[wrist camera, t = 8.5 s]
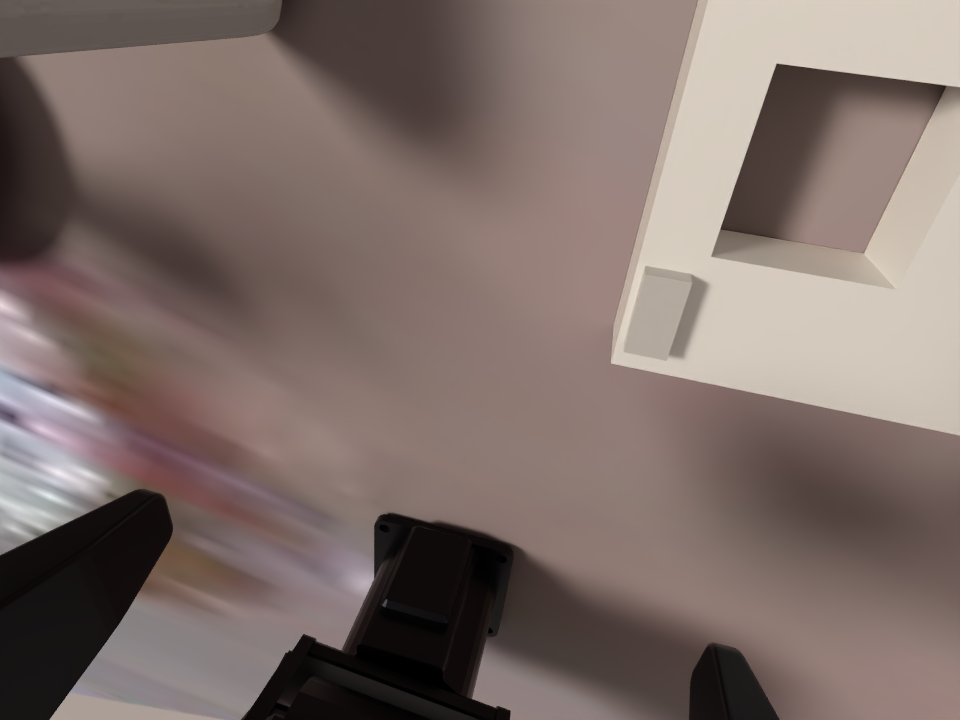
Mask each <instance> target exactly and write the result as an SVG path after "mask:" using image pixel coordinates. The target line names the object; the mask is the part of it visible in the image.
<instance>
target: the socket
mask: <svg viewBox="0 0 960 720" xmlns="http://www.w3.org/2000/svg"><path fill="white" fill-rule="evenodd" d="M776 64H784V65H792V66H800V67H808V68H815V69H823V70H831V71H839V72H846V73H854V74H862V75H870V76H877V77H885V78H893V79H901V80H908V81H916V82H924V83H931V84H939V85H947V86H946V88H945V90H944V92H943V94H942V96H941V98H940V100H939V102H938V104H937V106H936V108H935V110H934V112H933V114H932V116H931V118H930V120H929V122H928V125H927V127H926V129H925V131H924V133H923V135H922V137H921V139H920V141H919V143H918V145H917V147H916V149H915V151H914V153H913V155H912V157H911V159H910V161H909V163H908V165H907V167H906V169H905V171H904V173H903V175H902V177H901V179H900V181H899V183H898V185H897V187H896V189H895V191H894V193H893V195H892V198H891V200H890V202H889V204H888V206H887V208H886V210H885V212H884V214H883V216H882V218H881V220H880V222H879V224H878V226H877V228H876V230H875V232H874V234H873V236H872V238H871V240H870V242H869V244H868V246H867V248H866V250H865V252H864V254H863V253H857V252H851V251H845V250H839V249H833V248H828V247H822V246H816V245H810V244H804V243H798V242H792V241H786V240H780V239H775V238H769V237H763V236H757V235H751V234H745V233H739V232H733V231H727V230H722V229H720V228H721V225H722V222H723V219H724V217H725V214H726V211H727V208H728V205H729V202H730V199H731V196H732V193H733V190H734V187H735V184H736V181H737V178H738V175H739V172H740V169H741V167H742V164H743V161H744V158H745V155H746V152H747V149H748V146H749V143H750V140H751V137H752V134H753V131H754V128H755V125H756V122H757V119H758V117H759V114H760V111H761V108H762V105H763V102H764V99H765V96H766V93H767V90H768V87H769V84H770V81H771V78H772V75H773V72H774V69H775V67H776ZM611 363H612V364H617V365H622V366H627V367H631V368H636V369H641V370H646V371H651V372H656V373H660V374H665V375H670V376H675V377H680V378H685V379H689V380H694V381H699V382H704V383H709V384H714V385H718V386H723V387H728V388H733V389H738V390H743V391H747V392H752V393H757V394H762V395H767V396H772V397H777V398H781V399H786V400H791V401H796V402H801V403H806V404H810V405H815V406H820V407H825V408H830V409H835V410H839V411H844V412H849V413H854V414H859V415H864V416H868V417H873V418H878V419H883V420H888V421H893V422H897V423H902V424H907V425H912V426H917V427H922V428H926V429H931V430H936V431H941V432H946V433H951V434H955V435H960V0H698V3H697V7H696V11H695V15H694V19H693V22H692V26H691V30H690V34H689V38H688V42H687V45H686V49H685V53H684V57H683V61H682V65H681V69H680V72H679V76H678V80H677V84H676V88H675V92H674V95H673V99H672V103H671V107H670V111H669V115H668V119H667V122H666V126H665V130H664V134H663V138H662V142H661V146H660V149H659V153H658V157H657V161H656V165H655V169H654V172H653V176H652V180H651V184H650V188H649V192H648V195H647V199H646V203H645V207H644V211H643V215H642V219H641V222H640V226H639V230H638V234H637V238H636V242H635V246H634V249H633V253H632V257H631V261H630V265H629V269H628V272H627V276H626V280H625V284H624V288H623V292H622V296H621V299H620V303H619V307H618V311H617V315H616V319H615V322H614V330H613V343H612V356H611Z"/></svg>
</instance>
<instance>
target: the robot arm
mask: <svg viewBox="0 0 960 720" xmlns="http://www.w3.org/2000/svg"><path fill="white" fill-rule="evenodd" d="M172 532H173V524H172V520H171V516H170V513H169V509H168V505H167V502H166V499H165V497H164V496H163V495H162V494H160V493H157V492H153V491H149V490H145V489H138V490H135V491H132V492H130V493H128V494H126V495H124V496H122V497H120V498H118V499H116V500H113V501H111V502H109V503H107V504H105V505H103V506H101V507H99V508H97V509H95V510H93V511H91V512H89V513H86V514H84V515H82V516H80V517H78V518H76V519H74V520H72V521H70V522H68V523H66V524H64V525H62V526H59V527H57V528H55V529H53V530H51V531H49V532H47V533H45V534H43V535H41V536H39V537H37V538H35V539H33V540H30V541H28V542H26V543H24V544H22V545H20V546H18V547H16V548H14V549H12V550H10V551H8V552H6V553H3V554H1V555H0V720H49V719H50V718H51V717H52V715H53V714H54V712H55V711H56V710H57V708H58V707H59V706H60V704H61V703H62V702H63V700H64V699H65V697H66V696H67V694H68V693H69V692H70V691H71V689H72V688H73V687H74V685H75V684H76V682H77V681H78V680H79V678H80V677H81V676H82V674H83V673H84V672H85V670H86V669H87V667H88V666H89V665H90V663H91V662H92V661H93V659H94V658H95V657H96V655H97V654H98V652H99V651H100V650H101V648H102V647H103V646H104V644H105V643H106V642H107V640H108V639H109V637H110V636H111V635H112V633H113V632H114V630H115V629H116V627H117V626H118V625H119V623H120V622H121V620H122V618H123V617H124V615H125V614H126V612H127V611H128V609H129V607H130V606H131V604H132V602H133V601H134V599H135V597H136V596H137V594H138V592H139V591H140V589H141V587H142V586H143V584H144V582H145V581H146V579H147V577H148V576H149V574H150V572H151V571H152V569H153V567H154V566H155V564H156V562H157V561H158V559H159V557H160V556H161V554H162V552H163V551H164V549H165V547H166V546H167V544H168V542H169V540H170V538H171V536H172ZM502 555H503V556H502ZM513 556H514V553H513V550H512V549H511V548H510V547H509V546H506V545H504V544H500V543H496V542H492V541H488V540H484V539H480V538H477V537H473V536H469V535H465V534H461V533H457V532H453V531H449V530H445V529H442V528H438V527H434V526H430V525H426V524H422V523H418V522H414V521H410V520H407V519H403V518H399V517H395V516H391V515H386V514H383V515H380V516H379V517H378V519H377V521H376V523H375V526H374V581H373V583H372V585H371V587H370V589H369V592H368V594H367V596H366V598H365V600H364V603H363V605H362V607H361V609H360V611H359V613H358V616H357V618H356V620H355V622H354V624H353V626H352V629H351V631H350V633H349V635H348V637H347V640H346V642H345V644H344V646H343V648H342V650H338V649H336V648H333V647H330V646H328V645H325V644H322V643H319V642H317V641H316V638H313V637H311V636H308V635H305V634H303V636H302V637H301V639H300V640H299V642H298V643H297V645H296V646H295V648H294V649H293V651H290V650H289V652H288V653H285V655H284V657H283V659H282V661H281V663H280V664H279V666H278V668H277V670H276V671H275V673H274V674H273V676H272V677H271V679H270V680H269V682H268V683H267V685H266V686H265V688H264V689H263V691H262V692H261V694H260V695H259V697H258V698H257V700H256V701H255V703H254V704H253V706H252V707H251V708H250V710H249V711H248V712H247V713H246V714H245V716H244V717H243V718H242V719H241V720H510V710H507V709H505V708H502V707H499V706H497V707H496V708H495V707H492V706H489V705H486V704H484V703H481V702H478V701H476V700H473V699H472V696H473V692H474V688H475V684H476V679H477V675H478V671H479V667H480V663H481V659H482V654H483V650H484V646H485V642H486V638H487V636H489V637H493V636H496V635H497V633H498V630H499V625H500V620H501V615H502V610H503V605H504V600H505V595H506V590H507V585H508V580H509V575H510V570H511V565H512V560H513ZM689 720H780V719H779V718H778V716H777V714H776V712H775V711H774V709H773V707H772V705H771V703H770V702H769V700H768V698H767V696H766V695H765V693H764V691H763V689H762V688H761V686H760V684H759V682H758V681H757V679H756V677H755V675H754V674H753V672H752V670H751V668H750V667H749V665H748V663H747V661H746V660H745V658H744V656H743V655H742V653H741V652H740V651H739V650H737V649H736V648H733V647H729V646H725V645H722V644H718V643H710V644H708V646H707V647H706V649H705V650H704V652H703V654H702V656H701V658H700V659H699V661H698V663H697V665H696V667H695V668H694V670H693V673H692V676H691V682H690V705H689Z"/></svg>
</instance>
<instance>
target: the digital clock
mask: <svg viewBox="0 0 960 720" xmlns="http://www.w3.org/2000/svg"><path fill="white" fill-rule="evenodd" d="M281 7H282V0H0V58H3V57H15V56H27V55H39V54H51V53H62V52H74V51H86V50H98V49H110V48H121V47H133V46H145V45H157V44H169V43H180V42H192V41H204V40H216V39H228V38H239V37H248V36H254V35H260V34H263V33H266V32H268V31H270V30H271V29H273V28H274V27H275V25H276V24H277V23H278V21H279V18H280V13H281Z"/></svg>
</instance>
